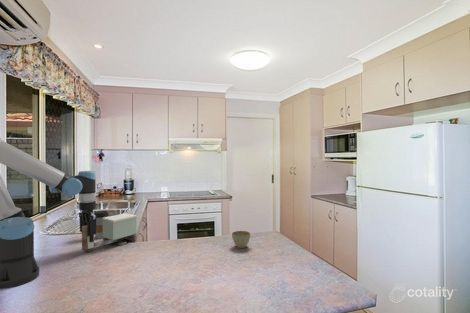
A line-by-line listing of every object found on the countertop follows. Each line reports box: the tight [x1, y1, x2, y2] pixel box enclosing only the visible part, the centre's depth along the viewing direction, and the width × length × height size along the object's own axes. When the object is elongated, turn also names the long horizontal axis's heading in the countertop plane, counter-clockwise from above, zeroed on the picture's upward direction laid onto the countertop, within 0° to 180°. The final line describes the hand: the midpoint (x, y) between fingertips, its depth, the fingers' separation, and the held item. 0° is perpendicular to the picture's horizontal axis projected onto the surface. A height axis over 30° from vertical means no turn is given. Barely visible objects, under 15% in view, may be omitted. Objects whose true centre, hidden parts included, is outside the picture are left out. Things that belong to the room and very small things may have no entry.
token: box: [116, 239, 128, 246], centre depth 145 cm, size 5×5×2 cm
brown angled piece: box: [81, 225, 118, 252], centre depth 139 cm, size 17×4×12 cm, turn 146°
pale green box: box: [102, 212, 138, 246], centre depth 146 cm, size 14×11×15 cm
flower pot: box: [231, 230, 251, 249], centre depth 141 cm, size 10×10×7 cm
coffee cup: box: [94, 210, 110, 240], centre depth 157 cm, size 8×8×15 cm
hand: (88, 247), depth 134 cm, fingers closed on brown angled piece, 4 cm apart
